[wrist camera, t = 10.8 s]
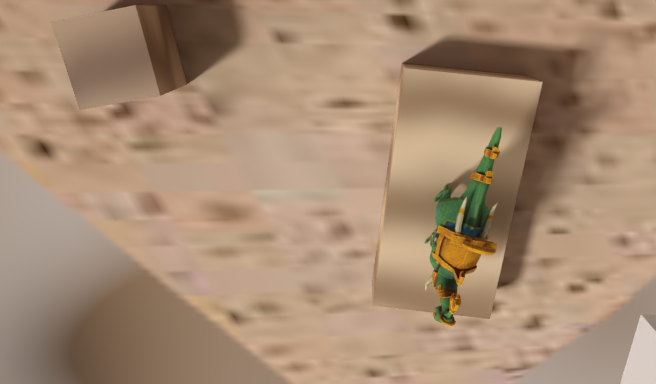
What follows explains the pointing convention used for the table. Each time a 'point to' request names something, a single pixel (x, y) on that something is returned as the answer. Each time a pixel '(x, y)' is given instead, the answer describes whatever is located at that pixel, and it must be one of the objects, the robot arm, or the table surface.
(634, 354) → the robot arm
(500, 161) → the beige rectangular block
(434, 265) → the figurine
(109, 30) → the grey brown cube
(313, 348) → the table surface
